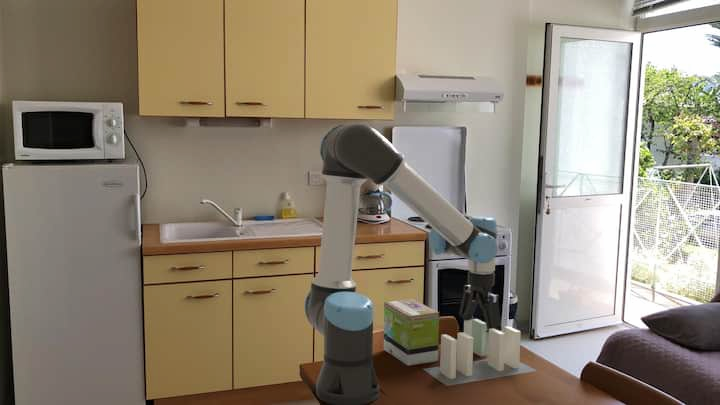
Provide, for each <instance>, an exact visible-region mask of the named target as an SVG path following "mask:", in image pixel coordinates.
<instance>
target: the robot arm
mask: <svg viewBox="0 0 720 405" xmlns="http://www.w3.org/2000/svg"><path fill="white" fill-rule="evenodd" d="M319 155H320V158H321V161H322V173H321V176H322V177H323V179H324V180H325V181H326V192H325V201H324V210H323V221H322V233H321V242H320V244H321V245H320V252H319V262H318V273H317V275H316V276H315V277H313V278H312V279H311V285H310V291H308V293H307V295H305V299H304V303H303V304H304V313H305V317H306V318H307V321H308V322H309V324H310V325H311V326H312V327H313V328H314V329H316V330H317V331H318V332H319V334H321V336H322V337H323V363H322V366H321V368H320V371H319V374H318V377H317V380H316V385H315V394H316V397H317V398H318V399H319V400H320V401H322V402H324V403H326V404H330V405H366V404H370V403H372V402H374V401H375V400H377V398H378V397H379V394H380V383H379V379H378V377H377V374H376V370H375V367H374V364H373V347H374V346H373V345H374V344H373V342H374V319H375V312H374V305H373V303H372V301H371V299H370V298H368V297H367V296H366V295H364V294H361V293H357V292H356V289H357V283H356V282H355V281H354V280H353V278H352V273H353V272H352V271H353V264H354V261H353V260H354V252H355V242H356V232H357V222H358V215H359V214H358V213H359V205H360V204H359V203H360V194H361V193H360V192H361V186H362V185H363V184H364V183H365V182H367V181H368V179H369V180H370V181H371V182H373V183H374V184H375V185H376V186H383V187H385V188H386V189H387V190H388V191H389V192H391V193H392V195H394V196H395V197H396V198H397V199H399V201H401V202H402V203H404V205H406V206H407V208H409V209H410V210H412V211H413V212H414V213H415V214H416V215H417V216H418V217H419V218H420V219H422V220H423V221H424V222H425V223H427V225H429V226H430V227H431V229H430V232H429V233H428V234H429V235H428V243H429V244H428V245H429V246H430V249H431V251H432V252H434V253H435V254H447V253H448V254H452V255H455V256H458V257H461V258H463V259H465V260H467V270H468V272H467V284H464V285H463V294H462V299H461V303H460V308H459V313H458V314H459V316H460V317H462V320H463V333H465V334H467V335H469V336H471V337H472V319H474V314H475V311H476V309H477V306H478V305H479V308H480V309H481V311H482V313H483V318H484V322H485V323H486V325H487V330H486V338H485V354H486V356H488V339H489V329H492V328H494V329H496V330H499V331H501V332H502V330H503V329H502V321H501V320H502V319H501V313H500V307H499V298H500V296H499V294H493V293H492V288H493V287H494V286H495V282H496V281H495V279H496V274H495V271H496V256H497V254H498V250H499V249H498V247H499V245H498V241H497V235H498V232H497V227H498V226H497V221H496V219H495V218H494V217H491V216H482V215H481V216H479V215H477V216H472V217H470V218H469V219H467V218H466V217H465V216H464V215H463V213H462V212H460V211H459V210H458V209H457V208H456V207H455V206H453V205H452V203H450V202H449V201H448V200H447V199H446V198H445V197H444V196H443V195H441V193H439V192H438V191H437V190H436V189H435V188H434V187H433V186H432V185H431V184H430V183H428V182H427V181H426V180H425V179H424V178H423V177H422V176H420V174H419V173H417V172H416V170H414V169H413V168H412V167H411V166H410V165H409V164H408V163H407V162H406V161H405V155H404V154H403V153H402V152H401V151H400V150H399V149H398V148H396V146H395V145H394V144H392V142H390V141H389V140H388V139H387V138H386V137H385V136H384V135H383V134H381V133H380V132H379V131H378V130H376V129H375V128H374V127H372V126H370V125H367V124H364V123H353V124H352V123H351V124H339V125H336V126H334V127H332V128H330V129H329V130H328V131H327V132H325V134H324V135H323V137H322V138H321V141H320V144H319Z"/></svg>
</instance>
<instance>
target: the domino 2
mask: <svg viewBox="0 0 720 405" xmlns="http://www.w3.org/2000/svg"><path fill="white" fill-rule="evenodd" d="M456 336H457V338H456V340H457V350H456V370H458V371H459V372H461V373H463V374H464V375H466V376H472V364H473V361H474V357H473V356H474V352H473V337H471V336H469V335H467V334H465V333H464V331H463V332H462V331H461V332H457V335H456Z"/></svg>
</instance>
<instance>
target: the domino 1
mask: <svg viewBox="0 0 720 405" xmlns="http://www.w3.org/2000/svg"><path fill="white" fill-rule="evenodd" d="M439 358H440V361H439V362H440V364H439V366H440V372H441V373H442V374H444V375H445V376H447V377H448V378H449V379H453V378H456V364H457V338H456V339H455V338H454V337H452V336H450V335H449V334H441V335H440V357H439Z"/></svg>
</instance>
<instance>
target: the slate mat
mask: <svg viewBox="0 0 720 405" xmlns="http://www.w3.org/2000/svg"><path fill="white" fill-rule="evenodd" d="M422 370H423V371H424V372H426V373H428V374H429V375H431V377H433V378H434V379H436V380H437V381H438V382H440V383H442V384H443V385H445V386H446V387H449V386H455V385H461V384H467V383H474V382H481V381H485V380H486V381H487V380H491V379H498V378H503V377H509V376H515V375H522V374H529V373H534V372H537V371H538V370H537V369H535V368H533V367H531V366H529V365H527V364H525V363H523V362H521V361H520V360H519V368H515V369H514V368H512V367H510V366H509V365H507V364H505V363H504V370H502V371H498V370H496V369H494V368H493V367H491V366H489V365H488V358H486V359H481V360H473V364H472V376H466V375H464V374H463V373H461V372H459V371H458V370H456V378H453V379H449V378H448V377H447V376H445V375H444V374H442V373H441V372H440V365H439V366H432V367H428V368H422Z"/></svg>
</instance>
